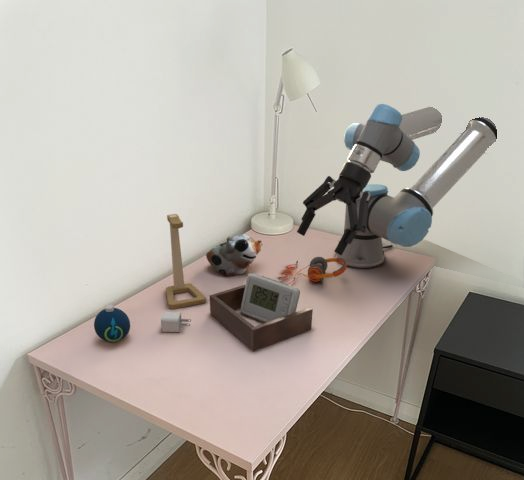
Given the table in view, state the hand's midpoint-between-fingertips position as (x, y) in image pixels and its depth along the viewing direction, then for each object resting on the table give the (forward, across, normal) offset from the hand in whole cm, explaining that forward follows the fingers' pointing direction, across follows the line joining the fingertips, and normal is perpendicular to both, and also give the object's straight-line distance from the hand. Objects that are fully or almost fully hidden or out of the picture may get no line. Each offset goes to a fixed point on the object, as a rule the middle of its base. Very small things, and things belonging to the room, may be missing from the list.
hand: (318, 243), depth 140 cm
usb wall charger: (+35, -10, -22) cm, 43 cm away
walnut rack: (+25, +1, -7) cm, 26 cm away
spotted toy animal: (+18, -29, +7) cm, 35 cm away
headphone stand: (+30, -23, -12) cm, 40 cm away
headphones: (+9, -9, +18) cm, 22 cm away
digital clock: (+23, +1, -5) cm, 24 cm away
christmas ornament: (+44, -16, -33) cm, 57 cm away
